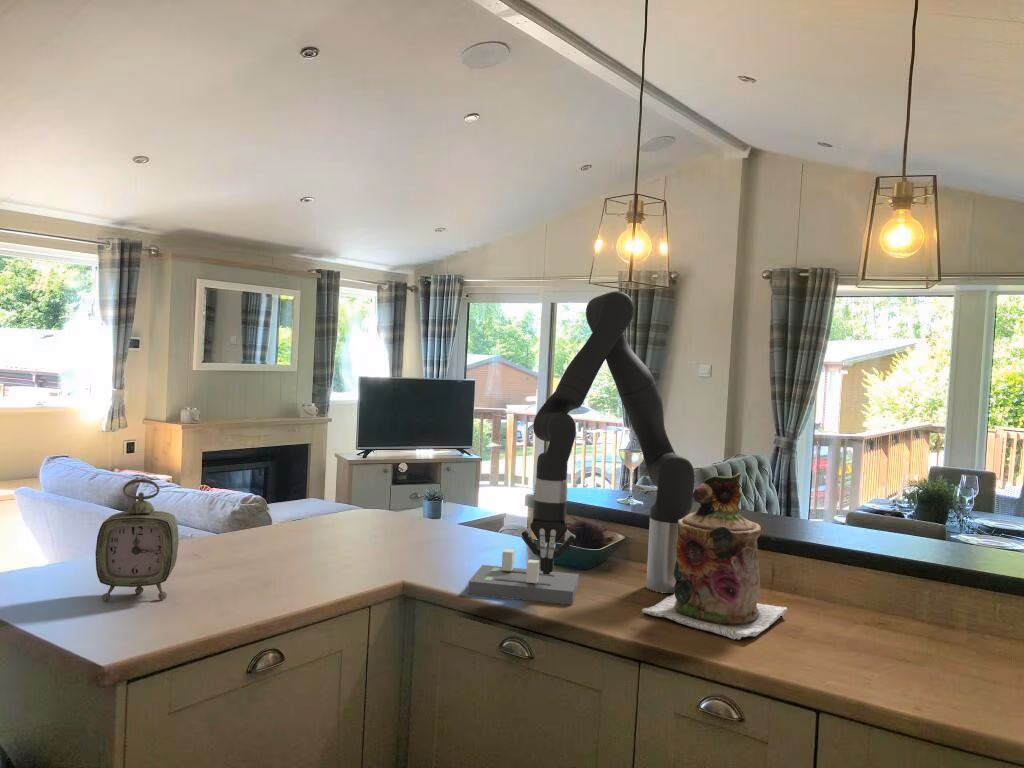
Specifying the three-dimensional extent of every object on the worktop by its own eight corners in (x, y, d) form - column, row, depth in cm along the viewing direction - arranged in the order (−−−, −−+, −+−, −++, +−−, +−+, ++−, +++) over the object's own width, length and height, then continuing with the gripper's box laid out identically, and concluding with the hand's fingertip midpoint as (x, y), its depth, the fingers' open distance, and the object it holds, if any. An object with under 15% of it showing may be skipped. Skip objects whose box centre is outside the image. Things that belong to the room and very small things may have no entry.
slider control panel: (578, 586, 181) (578, 573, 181) (572, 605, 167) (573, 591, 167) (481, 576, 186) (482, 564, 186) (468, 594, 171) (468, 580, 171)
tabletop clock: (93, 604, 151) (98, 482, 151) (104, 591, 160) (109, 475, 159) (170, 602, 155) (175, 482, 155) (177, 589, 164) (182, 476, 163)
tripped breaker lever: (538, 579, 173) (539, 560, 173) (536, 583, 170) (537, 563, 170) (528, 578, 173) (529, 559, 173) (526, 582, 170) (527, 562, 170)
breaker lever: (513, 568, 182) (514, 549, 182) (511, 571, 179) (512, 552, 179) (503, 567, 183) (504, 548, 182) (501, 570, 180) (502, 551, 180)
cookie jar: (687, 592, 181) (694, 461, 181) (789, 617, 166) (798, 474, 165) (637, 615, 162) (645, 469, 161) (747, 646, 147) (757, 484, 146)
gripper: (580, 498, 173) (576, 572, 174) (524, 493, 175) (520, 566, 176) (578, 503, 166) (573, 580, 166) (519, 498, 168) (515, 575, 168)
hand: (546, 573), depth 171 cm, fingers closed
